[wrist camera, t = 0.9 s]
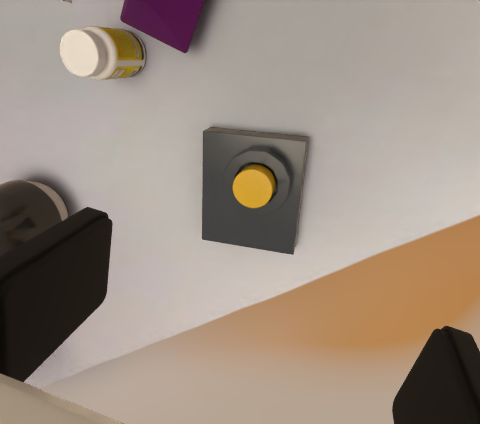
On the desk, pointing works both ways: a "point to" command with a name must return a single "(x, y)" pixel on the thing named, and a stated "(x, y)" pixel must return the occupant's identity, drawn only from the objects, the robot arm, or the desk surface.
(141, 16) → the perfume bottle
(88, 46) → the supplement bottle
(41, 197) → the pump dispenser
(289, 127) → the desk surface
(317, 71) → the desk surface
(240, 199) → the button
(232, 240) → the console
